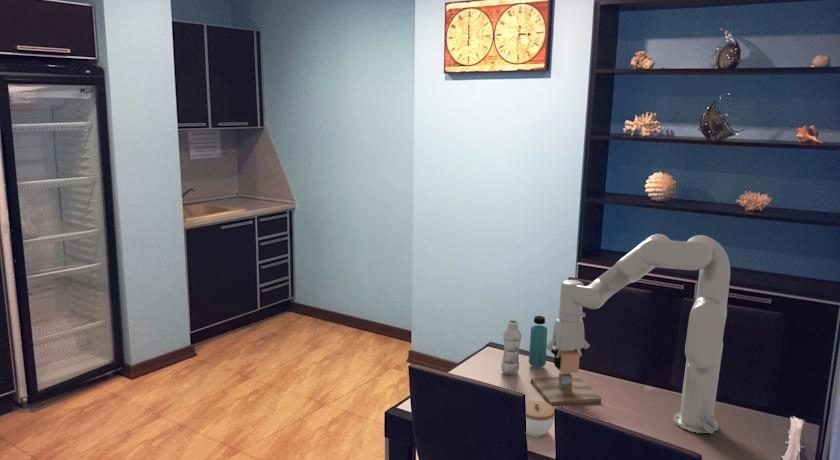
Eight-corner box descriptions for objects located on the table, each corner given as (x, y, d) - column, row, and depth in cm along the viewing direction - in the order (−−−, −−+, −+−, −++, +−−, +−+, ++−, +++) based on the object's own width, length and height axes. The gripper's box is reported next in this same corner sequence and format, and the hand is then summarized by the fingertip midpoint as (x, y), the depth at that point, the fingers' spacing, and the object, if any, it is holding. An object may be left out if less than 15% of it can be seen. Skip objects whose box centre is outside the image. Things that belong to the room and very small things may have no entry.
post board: (600, 402, 208) (602, 384, 206) (550, 405, 204) (551, 387, 203) (577, 379, 225) (578, 362, 224) (530, 382, 222) (531, 365, 220)
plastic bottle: (497, 371, 230) (500, 320, 226) (512, 368, 233) (515, 318, 229) (506, 378, 224) (509, 326, 220) (522, 375, 227) (525, 323, 223)
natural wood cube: (578, 372, 211) (579, 354, 209) (561, 373, 210) (563, 355, 208) (570, 365, 216) (572, 347, 215) (554, 365, 215) (555, 348, 214)
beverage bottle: (547, 371, 231) (550, 320, 227) (529, 370, 231) (532, 319, 227) (544, 364, 238) (547, 314, 234) (526, 363, 238) (529, 313, 234)
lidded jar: (553, 443, 182) (555, 413, 180) (516, 438, 184) (518, 409, 182) (553, 425, 192) (555, 397, 190) (518, 421, 194) (519, 393, 192)
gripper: (589, 312, 215) (585, 361, 218) (542, 314, 211) (538, 363, 215) (599, 319, 207) (594, 369, 211) (550, 321, 204) (547, 372, 208)
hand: (566, 366), depth 213 cm, fingers closed on natural wood cube, 5 cm apart
